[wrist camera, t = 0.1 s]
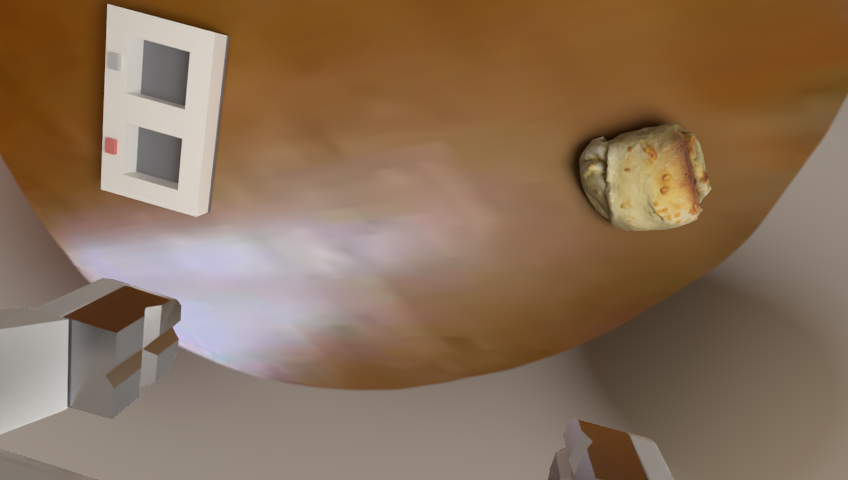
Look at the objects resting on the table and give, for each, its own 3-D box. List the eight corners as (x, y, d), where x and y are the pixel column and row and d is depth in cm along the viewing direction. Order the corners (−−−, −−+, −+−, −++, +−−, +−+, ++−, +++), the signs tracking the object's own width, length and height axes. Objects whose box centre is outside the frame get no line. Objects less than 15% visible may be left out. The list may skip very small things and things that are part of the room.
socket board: (126, 9, 55) (103, 2, 52) (229, 36, 55) (212, 31, 51) (118, 185, 62) (97, 190, 59) (209, 211, 61) (193, 217, 58)
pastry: (728, 169, 52) (769, 181, 44) (645, 251, 56) (670, 274, 48) (633, 89, 51) (659, 87, 43) (555, 178, 55) (566, 190, 47)
